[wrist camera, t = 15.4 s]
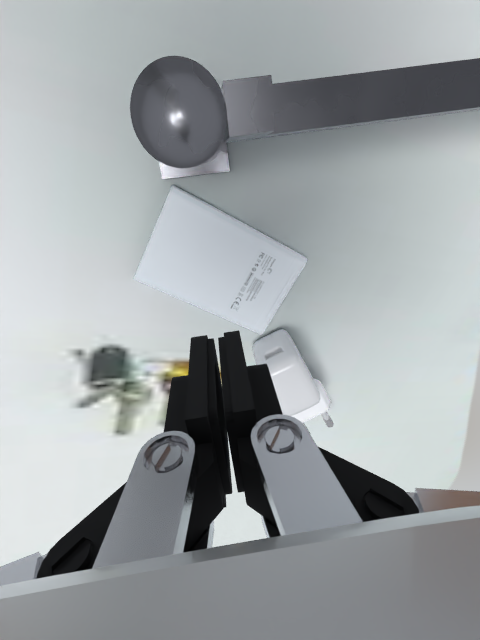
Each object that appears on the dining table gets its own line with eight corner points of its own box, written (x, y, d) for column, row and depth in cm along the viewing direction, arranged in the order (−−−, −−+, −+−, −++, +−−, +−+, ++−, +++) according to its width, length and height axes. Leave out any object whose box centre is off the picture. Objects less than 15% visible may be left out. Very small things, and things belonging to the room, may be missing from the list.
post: (148, 99, 22) (112, 58, 14) (220, 92, 22) (228, 46, 14) (163, 178, 24) (140, 185, 16) (229, 171, 24) (240, 173, 16)
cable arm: (156, 172, 18) (143, 173, 14) (137, 85, 16) (118, 62, 12) (600, 113, 19) (692, 101, 15) (629, 24, 17) (740, -13, 13)
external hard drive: (173, 184, 25) (304, 255, 28) (136, 274, 28) (259, 329, 31) (171, 185, 23) (309, 259, 27) (131, 280, 26) (261, 337, 30)
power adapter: (329, 398, 35) (351, 439, 30) (290, 417, 36) (304, 460, 30) (288, 320, 30) (305, 352, 25) (243, 343, 31) (251, 379, 26)
